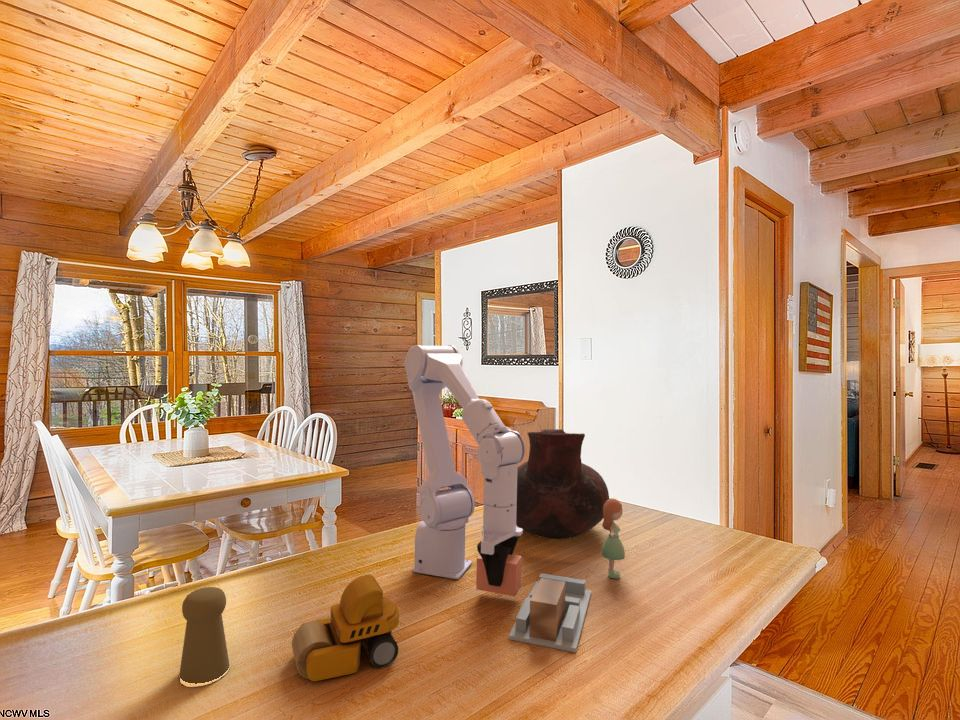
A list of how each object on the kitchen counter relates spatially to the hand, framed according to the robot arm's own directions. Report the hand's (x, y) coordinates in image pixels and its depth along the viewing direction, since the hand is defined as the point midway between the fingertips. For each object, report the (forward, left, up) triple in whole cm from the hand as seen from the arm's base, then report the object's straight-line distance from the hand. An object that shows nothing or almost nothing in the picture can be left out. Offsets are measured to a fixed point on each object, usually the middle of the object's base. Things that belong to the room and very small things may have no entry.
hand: (498, 579), depth 92 cm
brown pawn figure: (-31, -33, -4) cm, 45 cm away
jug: (+3, +36, -4) cm, 36 cm away
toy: (+18, +16, -4) cm, 24 cm away
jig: (+10, -2, -3) cm, 11 cm away
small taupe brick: (+10, -7, -3) cm, 13 cm away
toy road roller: (-15, -24, -4) cm, 28 cm away
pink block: (0, 0, -2) cm, 2 cm away
